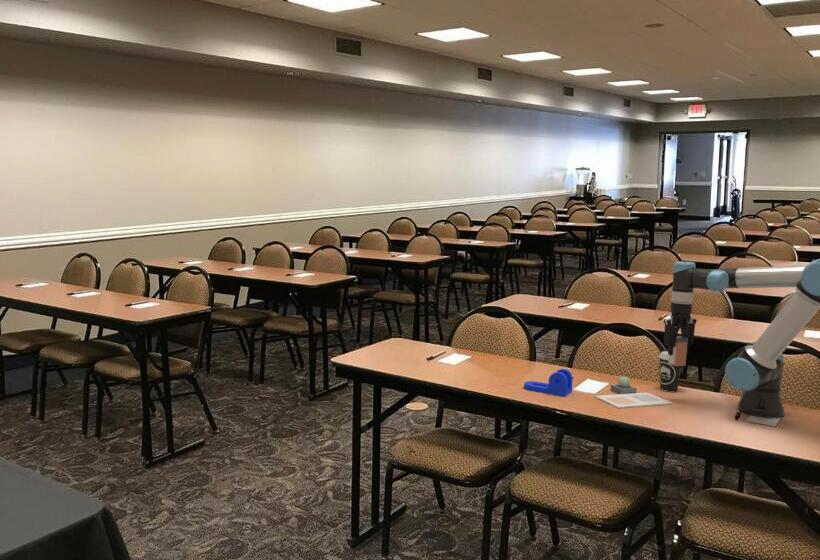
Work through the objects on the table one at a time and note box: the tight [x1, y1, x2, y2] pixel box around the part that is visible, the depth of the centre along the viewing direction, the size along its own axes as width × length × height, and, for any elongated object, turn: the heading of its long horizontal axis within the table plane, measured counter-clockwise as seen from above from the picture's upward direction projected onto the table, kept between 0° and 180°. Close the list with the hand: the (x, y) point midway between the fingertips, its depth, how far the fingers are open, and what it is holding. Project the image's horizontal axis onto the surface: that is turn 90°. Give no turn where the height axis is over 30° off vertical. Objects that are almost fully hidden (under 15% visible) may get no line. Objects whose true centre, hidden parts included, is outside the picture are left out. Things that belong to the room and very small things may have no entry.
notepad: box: [594, 392, 674, 410], centre depth 263 cm, size 15×24×1 cm, turn 109°
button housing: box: [610, 383, 637, 394], centre depth 275 cm, size 7×7×2 cm
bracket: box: [523, 368, 574, 398], centre depth 273 cm, size 18×8×9 cm, turn 60°
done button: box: [618, 376, 630, 388], centre depth 274 cm, size 4×4×4 cm
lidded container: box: [668, 335, 688, 367], centre depth 264 cm, size 5×5×11 cm
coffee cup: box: [658, 350, 682, 392], centre depth 281 cm, size 10×10×15 cm
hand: (677, 363), depth 264 cm, fingers closed on lidded container, 4 cm apart
